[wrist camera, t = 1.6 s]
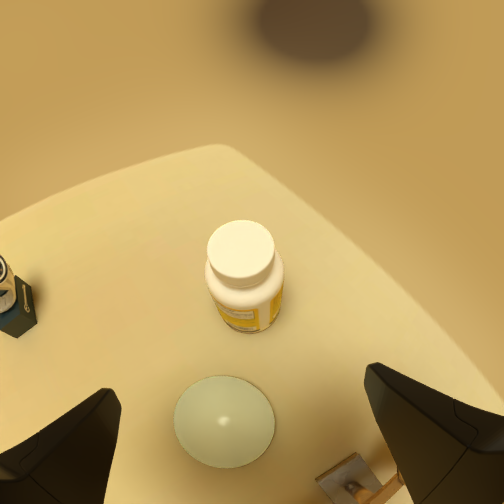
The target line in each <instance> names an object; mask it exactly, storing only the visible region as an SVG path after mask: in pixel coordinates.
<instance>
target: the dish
mask: <svg viewBox="0 0 504 504" xmlns="http://www.w3.org/2000/svg"><path fill="white" fill-rule="evenodd" d="M173 422H174V429H175V433H176V436H177V438H178V440H179V442H180V444H181V445H182V447H183V448H184V449H185V450H186V452H187V453H188V454H190V455H191V456H192V457H193V458H195V459H196V460H198V461H199V462H201V463H203V464H206V465H209V466H212V467H216V468H236V467H240V466H244V465H246V464H249V463H251V462H252V461H254V460H256V459H257V458H258V457H260V456H261V455H262V454H263V453H264V452H265V450H266V449H267V448H268V446H269V444H270V442H271V440H272V437H273V434H274V428H275V420H274V414H273V410H272V408H271V405H270V404H269V402H268V400H267V399H266V397H265V396H264V395H263V394H262V393H261V391H260V390H258V389H257V388H256V387H255V386H253V385H252V384H250V383H248V382H246V381H244V380H242V379H239V378H236V377H231V376H213V377H208V378H205V379H202V380H200V381H198V382H196V383H194V384H193V385H191V386H190V387H189V388H188V389H187V390H186V391H185V392H184V393H183V394H182V395H181V397H180V398H179V400H178V402H177V404H176V407H175V411H174V418H173Z"/></svg>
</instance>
